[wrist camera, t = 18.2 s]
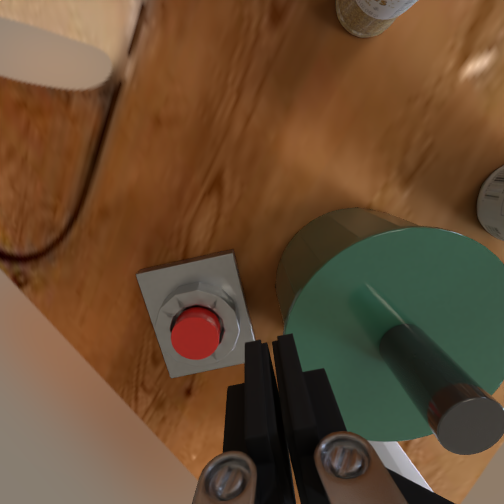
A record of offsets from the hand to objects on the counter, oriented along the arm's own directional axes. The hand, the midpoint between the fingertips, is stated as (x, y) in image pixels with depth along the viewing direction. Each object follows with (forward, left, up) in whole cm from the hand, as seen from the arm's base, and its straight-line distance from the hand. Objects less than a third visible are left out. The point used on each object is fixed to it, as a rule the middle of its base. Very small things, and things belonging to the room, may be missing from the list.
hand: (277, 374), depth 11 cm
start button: (+5, -6, -14) cm, 16 cm away
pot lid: (+5, +7, -7) cm, 11 cm away
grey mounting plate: (+5, -6, -17) cm, 19 cm away
